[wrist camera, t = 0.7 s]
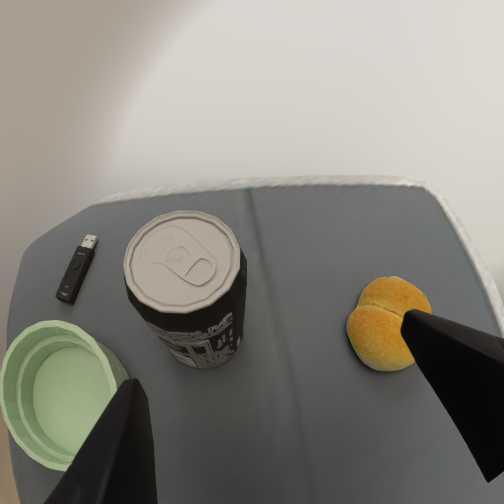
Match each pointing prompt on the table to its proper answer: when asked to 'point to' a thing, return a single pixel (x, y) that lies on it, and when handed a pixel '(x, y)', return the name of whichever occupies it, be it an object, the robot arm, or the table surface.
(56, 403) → the bowl
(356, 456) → the table surface
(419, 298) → the bread roll
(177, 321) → the beverage can
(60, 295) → the usb flash drive
